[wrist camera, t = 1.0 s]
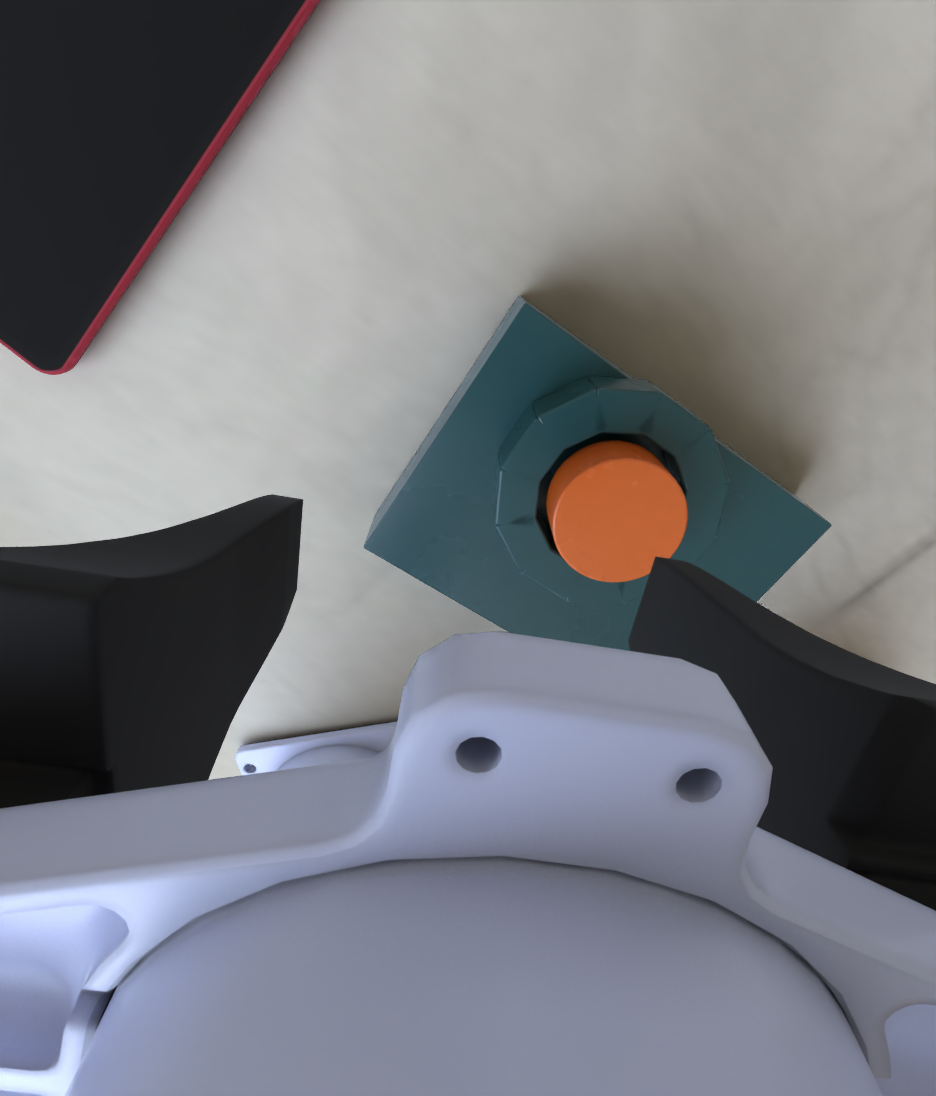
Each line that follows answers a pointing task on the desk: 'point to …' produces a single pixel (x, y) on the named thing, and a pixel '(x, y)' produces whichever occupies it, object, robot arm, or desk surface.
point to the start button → (615, 511)
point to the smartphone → (111, 144)
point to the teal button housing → (526, 472)
